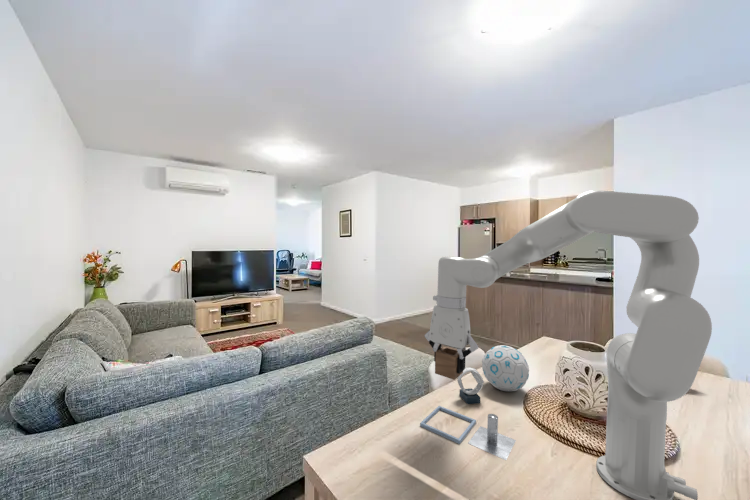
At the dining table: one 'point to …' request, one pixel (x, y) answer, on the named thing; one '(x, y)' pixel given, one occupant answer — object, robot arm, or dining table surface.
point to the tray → (424, 425)
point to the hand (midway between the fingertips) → (449, 367)
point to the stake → (492, 439)
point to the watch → (471, 394)
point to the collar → (447, 362)
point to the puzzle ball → (505, 368)
